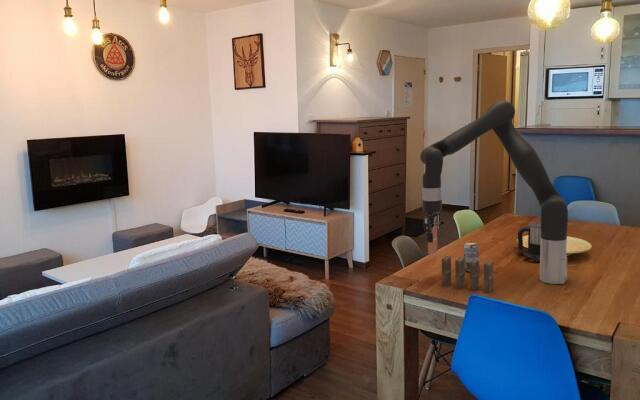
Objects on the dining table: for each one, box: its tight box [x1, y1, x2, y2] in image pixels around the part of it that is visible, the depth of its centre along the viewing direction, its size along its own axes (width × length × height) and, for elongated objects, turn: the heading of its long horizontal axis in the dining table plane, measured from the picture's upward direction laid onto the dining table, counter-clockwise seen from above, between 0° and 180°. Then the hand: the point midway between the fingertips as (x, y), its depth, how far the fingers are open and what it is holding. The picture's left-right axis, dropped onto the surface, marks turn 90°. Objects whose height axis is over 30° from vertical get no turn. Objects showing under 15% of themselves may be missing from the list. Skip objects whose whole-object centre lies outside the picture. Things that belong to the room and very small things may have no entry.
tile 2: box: [469, 258, 480, 292], centre depth 196 cm, size 2×5×11 cm, turn 146°
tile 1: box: [483, 260, 494, 294], centre depth 193 cm, size 2×5×11 cm, turn 146°
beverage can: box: [463, 242, 480, 272], centre depth 217 cm, size 6×7×12 cm
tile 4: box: [441, 255, 452, 287], centre depth 202 cm, size 2×5×11 cm, turn 146°
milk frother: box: [517, 221, 541, 263], centre depth 229 cm, size 14×16×15 cm
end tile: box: [427, 225, 438, 255], centre depth 203 cm, size 2×5×11 cm, turn 146°
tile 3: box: [454, 256, 466, 289], centre depth 199 cm, size 2×5×11 cm, turn 146°
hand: (432, 240), depth 203 cm, fingers closed on end tile, 5 cm apart
